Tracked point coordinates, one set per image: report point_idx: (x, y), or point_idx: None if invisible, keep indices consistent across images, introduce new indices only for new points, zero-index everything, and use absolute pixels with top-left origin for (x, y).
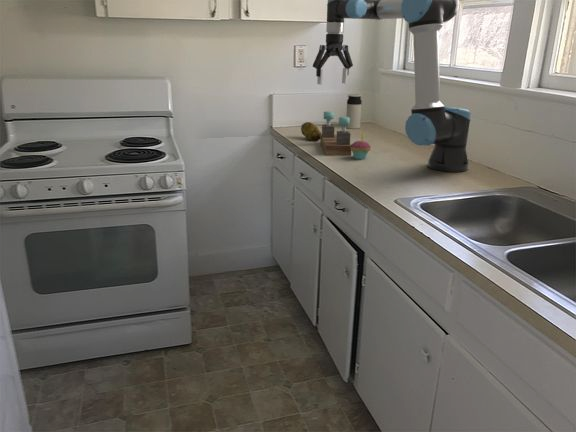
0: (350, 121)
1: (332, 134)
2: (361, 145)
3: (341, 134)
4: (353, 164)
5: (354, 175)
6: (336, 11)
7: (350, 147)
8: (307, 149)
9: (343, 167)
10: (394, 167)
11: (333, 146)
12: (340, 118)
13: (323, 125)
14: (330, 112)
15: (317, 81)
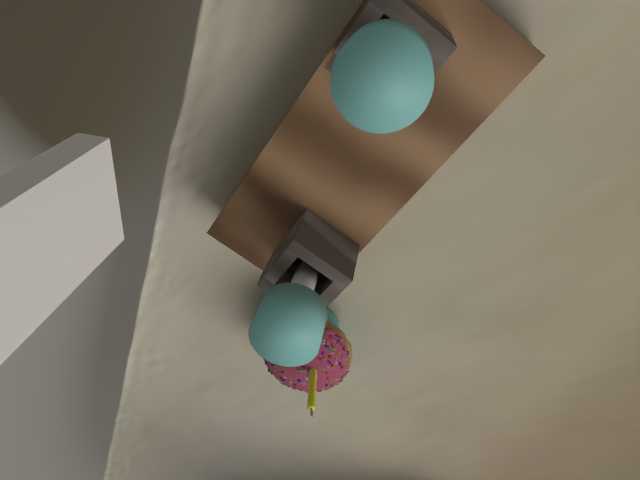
0: None
1: None
2: (282, 382)
3: None
4: (230, 356)
5: (156, 414)
6: None
7: None
8: (214, 59)
9: (177, 357)
10: (317, 441)
11: (239, 253)
12: (249, 335)
13: (363, 23)
14: (380, 109)
15: (46, 156)
